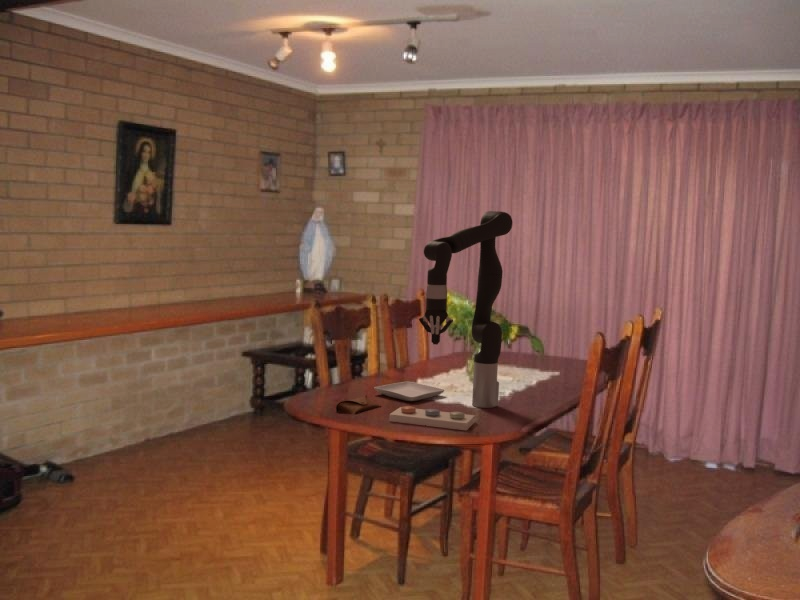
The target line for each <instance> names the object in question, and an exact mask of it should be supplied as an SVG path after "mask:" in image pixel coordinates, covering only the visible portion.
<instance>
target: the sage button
mask: <svg viewBox="0 0 800 600" xmlns="http://www.w3.org/2000/svg"><path fill="white" fill-rule="evenodd" d="M449 413H450V417H451V418H453V419H460V420H461V419H462V418H464V417H465V414H466V413H464V412H462V411H451V412H449Z"/></svg>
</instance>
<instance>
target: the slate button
mask: <svg viewBox="0 0 800 600" xmlns="http://www.w3.org/2000/svg"><path fill="white" fill-rule="evenodd" d="M424 410H425V414H426V415H428V416H434V417H437V416H438V415H440V411H441V410H440V409H437V408H427V409H424Z"/></svg>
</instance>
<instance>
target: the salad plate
mask: <svg viewBox="0 0 800 600" xmlns="http://www.w3.org/2000/svg"><path fill="white" fill-rule="evenodd" d="M373 388H374V390H375V391H377V392H378V393H380V394H381V395H384V396H387V397H389V398H393V399H398V400H402V401H407V402H416V401H420V400H425V399H429V398H430V399H431V398H433V396H434V397H436V396H440V395H441V394H443V393H444V392H445V391H446V389H445V388H439V387H435V386H432V385H431V386H430V385H427V384H421V383H418V382H413V381H401V382H394V383H388V384H383V385H379V386H374V387H373Z"/></svg>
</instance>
